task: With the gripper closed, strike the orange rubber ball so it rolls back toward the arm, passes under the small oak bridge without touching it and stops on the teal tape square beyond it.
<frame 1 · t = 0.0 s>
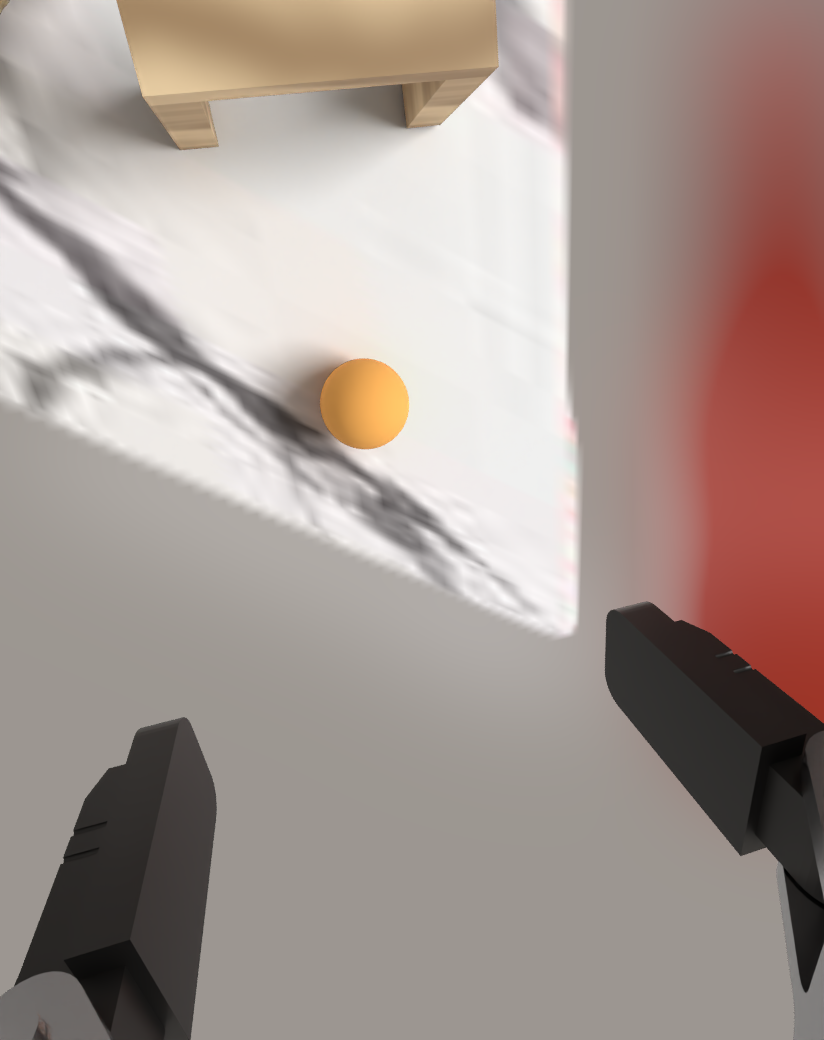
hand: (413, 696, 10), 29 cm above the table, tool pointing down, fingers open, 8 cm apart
bridge: (309, 104, 30), on the table
ball: (364, 404, 34), on the table
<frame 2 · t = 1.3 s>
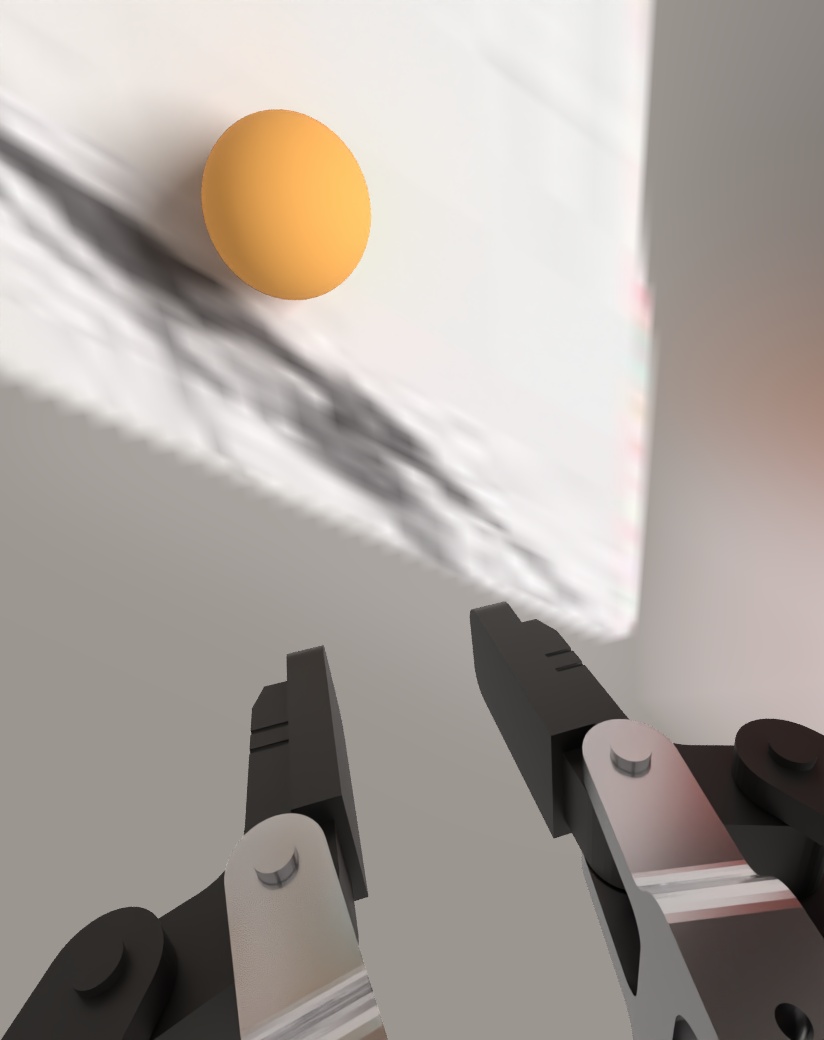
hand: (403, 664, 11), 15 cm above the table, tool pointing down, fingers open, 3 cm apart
ball: (288, 211, 18), on the table
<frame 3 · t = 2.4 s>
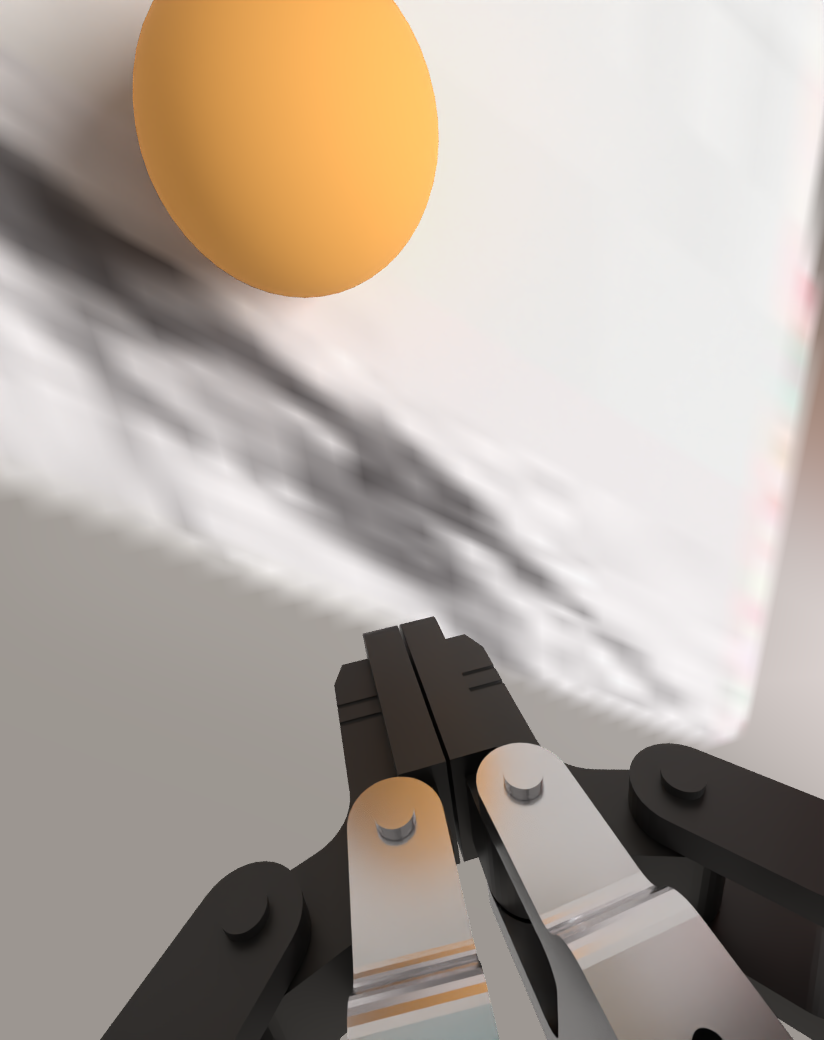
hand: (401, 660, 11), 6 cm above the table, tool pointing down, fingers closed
ball: (294, 141, 10), on the table
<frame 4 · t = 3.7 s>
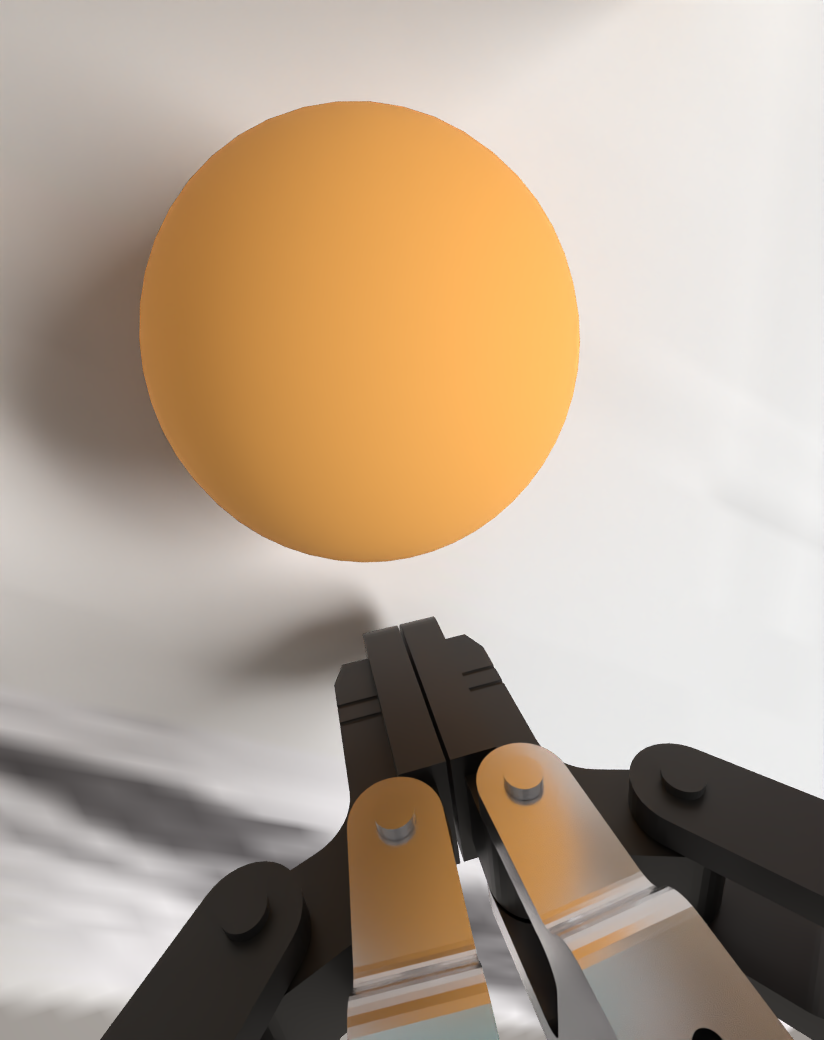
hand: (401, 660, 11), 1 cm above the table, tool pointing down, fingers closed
ball: (366, 358, 7), on the table
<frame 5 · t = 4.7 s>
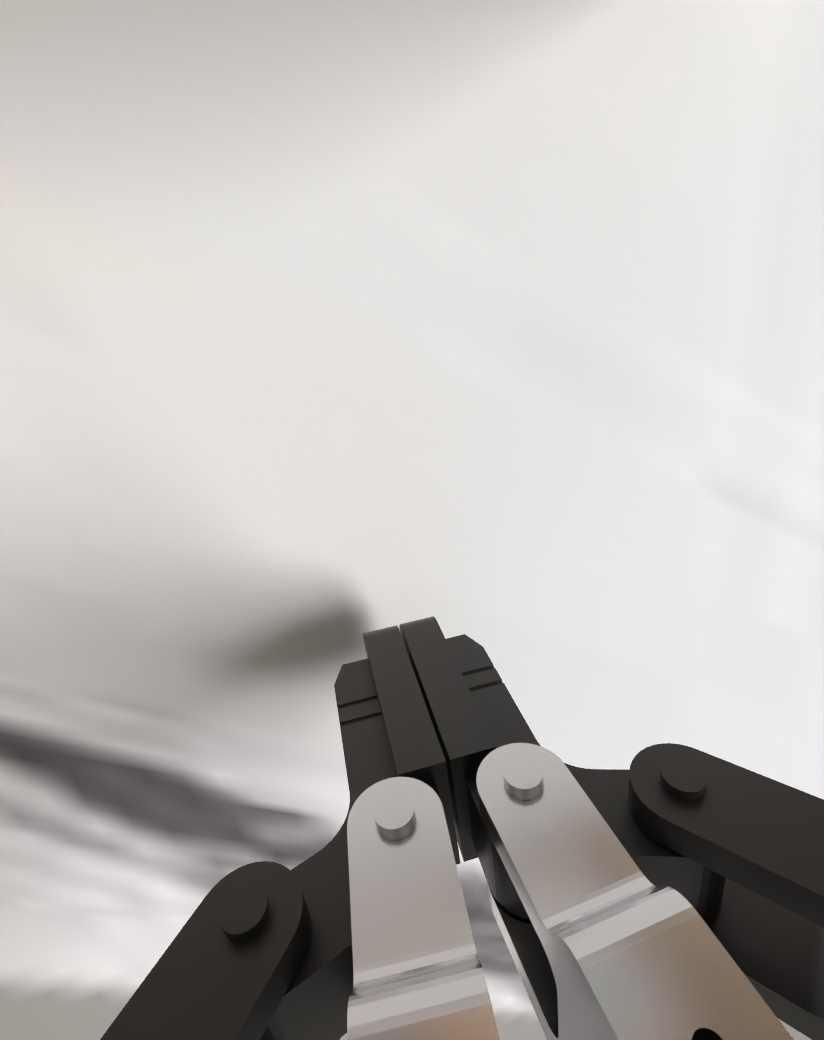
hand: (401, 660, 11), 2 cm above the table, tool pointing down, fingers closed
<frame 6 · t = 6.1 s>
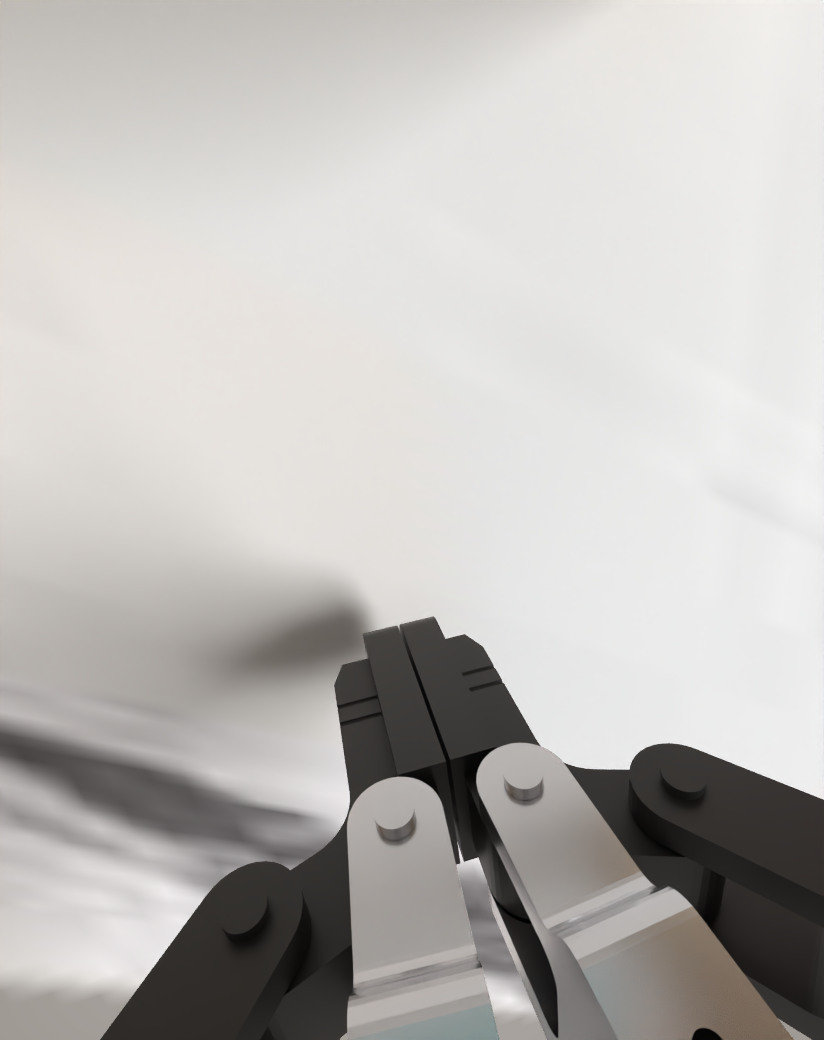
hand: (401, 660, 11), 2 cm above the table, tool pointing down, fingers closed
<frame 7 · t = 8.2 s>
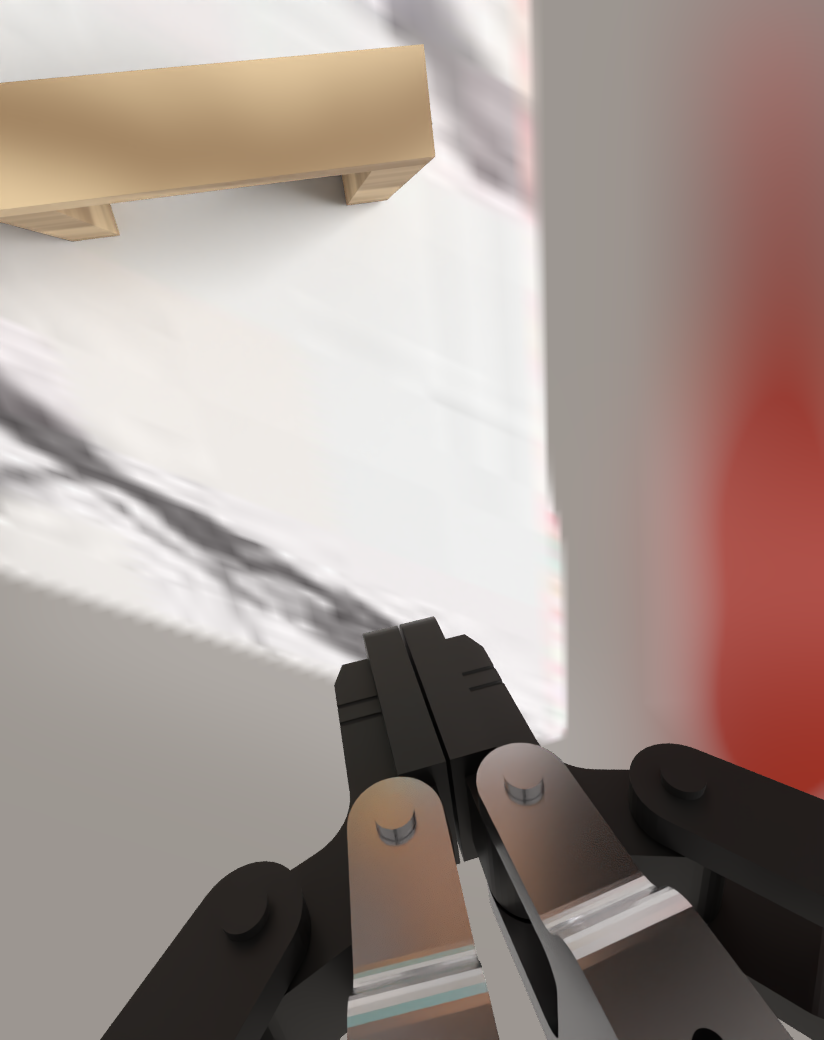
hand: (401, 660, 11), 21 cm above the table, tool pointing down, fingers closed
bridge: (228, 183, 25), on the table
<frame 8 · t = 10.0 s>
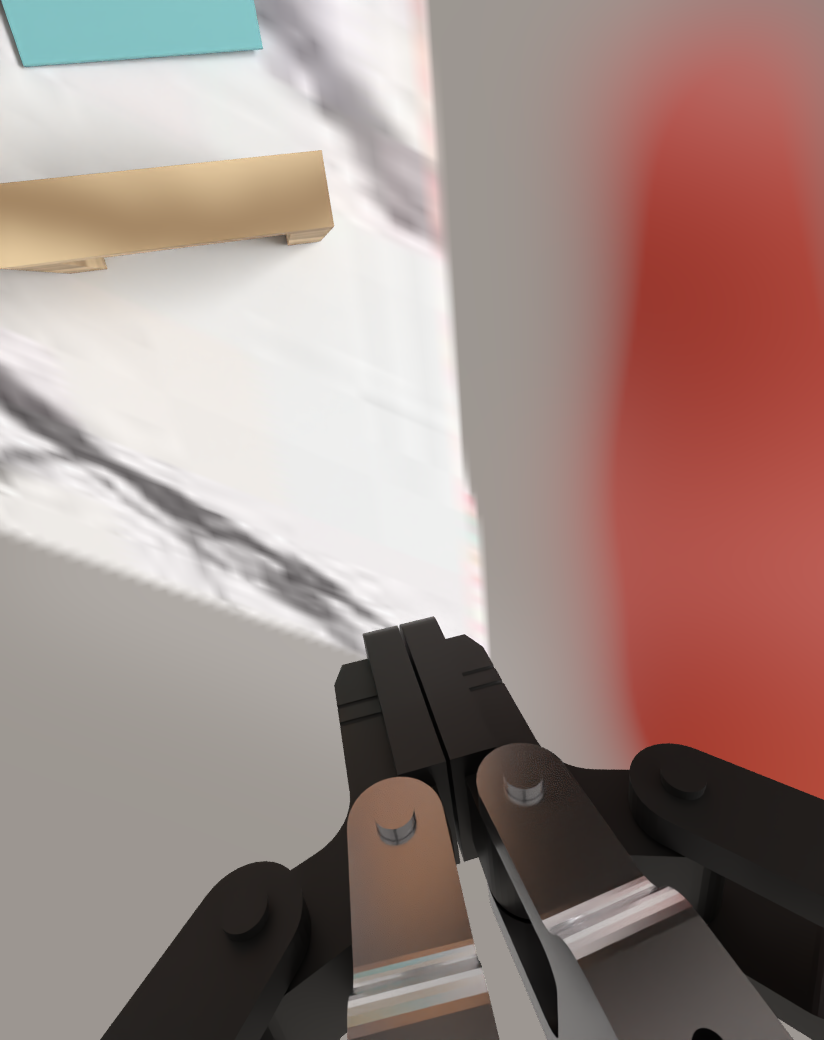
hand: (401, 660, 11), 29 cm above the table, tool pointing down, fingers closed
bridge: (192, 228, 32), on the table
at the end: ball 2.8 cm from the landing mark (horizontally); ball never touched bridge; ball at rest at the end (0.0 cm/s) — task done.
